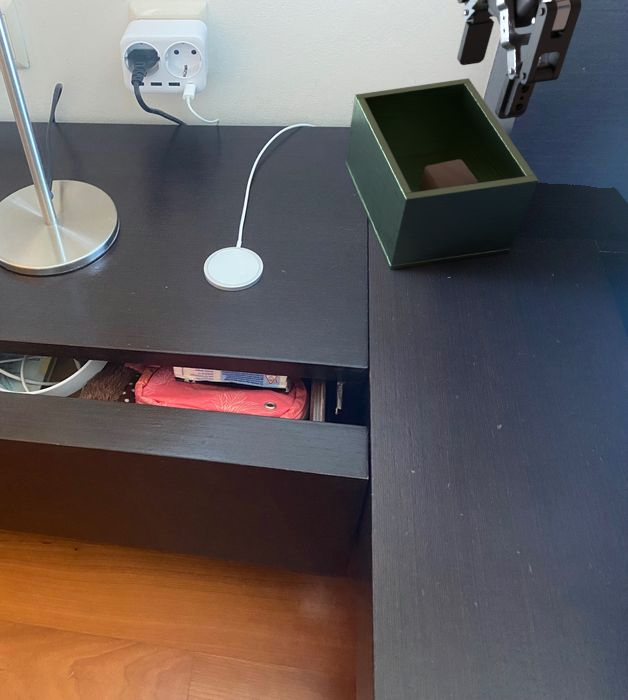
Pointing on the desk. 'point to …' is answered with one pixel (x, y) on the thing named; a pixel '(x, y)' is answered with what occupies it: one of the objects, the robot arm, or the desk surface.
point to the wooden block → (446, 175)
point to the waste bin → (427, 149)
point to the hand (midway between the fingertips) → (488, 87)
